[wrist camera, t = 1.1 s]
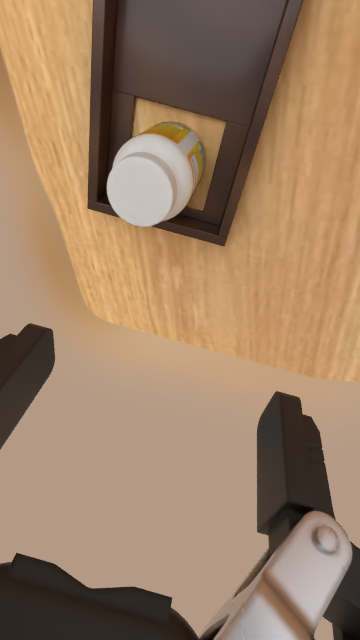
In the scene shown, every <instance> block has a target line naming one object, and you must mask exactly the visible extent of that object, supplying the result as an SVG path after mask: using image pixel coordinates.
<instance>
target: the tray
mask: <svg viewBox="0 0 360 640" xmlns="http://www.w3.org/2000/svg"><path fill="white" fill-rule="evenodd" d="M302 3H303V0H93V21H92V59H91V97H90V135H89V173H88V209H91V210H95V211H98V212H102V213H105V214H109V215H113V216H116V217H119V216H118V215H117V213H116V212H115V211H114V209H113V208H112V206H111V204H110V202H109V199H108V195H107V181H108V177H109V174H110V172H111V170H112V167H113V163H114V159H115V157H116V155H117V153H118V151H119V150H120V148H121V147H122V146H123V145H124V144H125V143H126V142H127V141H129V140H130V139H131V138H132V128H133V118H134V108H135V98H136V97H140V98H144V99H147V100H151V101H155V102H158V103H162V104H166V105H169V106H173V107H177V108H180V109H184V110H188V111H192V112H195V113H199V114H203V115H206V116H210V117H214V118H217V119H221V120H225V121H227V122H226V126H225V130H224V134H223V138H222V142H221V146H220V150H219V153H218V157H217V161H216V165H215V169H214V173H213V177H212V181H211V185H210V188H209V192H208V196H207V200H206V204H205V208H204V212H203V211H200V210H196V209H192V208H189V207H184V209H183V210H182V211H181V212H180V213H178V214H177V215H176V216H174V217H172V218H170V219H168V220H165V221H161V222H159V223H158V224H156V225H153V226H152V227H156V228H160V229H163V230H167V231H170V232H174V233H178V234H181V235H185V236H189V237H192V238H196V239H199V240H203V241H207V242H210V243H214V244H218V245H221V246H225V243H226V240H227V237H228V234H229V231H230V227H231V224H232V221H233V218H234V215H235V212H236V209H237V206H238V202H239V199H240V196H241V193H242V190H243V187H244V184H245V181H246V178H247V174H248V171H249V168H250V165H251V162H252V159H253V156H254V153H255V150H256V146H257V143H258V140H259V137H260V134H261V131H262V128H263V125H264V121H265V118H266V115H267V112H268V109H269V106H270V103H271V100H272V97H273V93H274V90H275V87H276V84H277V81H278V78H279V75H280V72H281V68H282V65H283V62H284V59H285V56H286V53H287V50H288V47H289V44H290V40H291V37H292V34H293V31H294V28H295V25H296V22H297V19H298V16H299V12H300V9H301V6H302ZM120 218H121V217H120Z"/></svg>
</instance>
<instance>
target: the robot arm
mask: <svg viewBox="0 0 360 640" xmlns="http://www.w3.org/2000/svg"><path fill="white" fill-rule="evenodd" d="M54 362H55V353H54V339H53V331H52V329H49V328H45V327H42V326H38V325H34V324H31V323H30V324H28V325H26V326H25V327H24V328H23V330H22V331H21V332H20V333H19V334H18V335H17V336H16V335H13V334H9V335H7V336H5V337H3V338H2V339H0V449H1V448H2V446H3V444H4V443H5V442H6V440H7V439H8V437H9V436H10V434H11V433H12V431H13V430H14V428H15V427H16V425H17V424H18V422H19V421H20V419H21V418H22V416H23V415H24V413H25V412H26V410H27V409H28V407H29V406H30V404H31V403H32V401H33V400H34V398H35V396H36V395H37V394H38V392H39V390H40V389H41V388H42V386H43V384H44V383H45V381H46V380H47V378H48V377H49V375H50V373H51V372H52V369H53V366H54ZM257 532H258V533H262V534H265V535H269V548H268V549H267V550H266V551H265V553H264V554H263V555H262V556H261V558H260V559H259V560H258V562H257V563H256V564H255V566H254V567H253V568H252V570H251V571H250V572H249V573H248V575H247V576H246V577H245V579H244V580H243V582H242V583H241V584H240V585H239V587H238V588H237V589H236V590H235V592H234V593H233V595H232V596H231V597H230V598H229V599H228V601H227V602H226V603H225V604H224V605H223V606H222V607H221V608H220V610H219V611H218V612H217V613H216V614H215V616H214V617H213V618H212V619H211V620H210V622H209V623H208V624H207V626H206V627H205V628H204V630H203V631H202V632H201V633H200V635H199V636H197V635H196V633H195V632H194V630H193V629H192V627H191V626H190V625H189V624H188V622H187V621H186V620H185V619H184V618H183V617H182V616H181V615H180V614H179V613H178V612H177V611H175V610H174V609H172V608H171V602H172V598H171V597H168V596H165V595H161V594H158V593H154V592H151V591H147V590H144V589H140V588H137V587H118V588H117V587H116V588H96V589H92V588H88V587H86V586H85V585H83V584H82V583H81V582H79V581H78V580H76V579H75V578H73V577H72V576H71V575H69V574H68V573H67V572H65V571H64V570H62V569H61V568H60V567H58V566H57V565H55V564H53V563H50V562H46V561H43V560H40V559H36V558H33V557H29V556H26V555H22V554H19V553H16V555H15V557H14V559H13V561H12V562H7V563H2V564H0V640H315V639H314V632H315V630H316V628H317V626H318V624H319V621H320V620H321V618H322V616H323V617H324V618H325V619H327V620H328V621H330V622H331V623H332V626H333V636H334V640H360V549H359V548H358V547H356V546H355V545H354V544H353V543H352V542H351V541H350V540H349V538H348V536H347V534H346V532H345V530H344V529H343V528H342V526H341V525H340V524H339V523H338V522H337V521H336V519H335V516H334V512H333V507H332V502H331V496H330V490H329V484H328V478H327V473H326V467H325V463H324V455H323V450H322V444H321V438H320V432H319V430H318V428H317V426H316V425H315V423H314V421H313V419H312V418H311V417H310V416H306V415H303V414H302V408H301V401H300V398H299V397H296V396H293V395H289V394H285V393H282V392H275V393H274V395H273V397H272V398H271V400H270V402H269V403H268V405H267V407H266V408H265V410H264V412H263V413H262V415H261V417H260V420H259V423H258V428H257Z"/></svg>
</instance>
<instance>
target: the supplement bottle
mask: <svg viewBox="0 0 360 640" xmlns="http://www.w3.org/2000/svg"><path fill="white" fill-rule="evenodd" d="M204 166H205V153H204V148H203V145H202V143H201V141H200V139H199V137H198V136H197V134H196V133H195V132H194V131H193V130H192V129H190V128H189V127H188V126H186V125H184V124H181V123H178V122H162V123H159V124H157V125H155V126H153V127H152V128H150V129H148V130H146V131H144V132H143V133H141V134H139V135H137V136H135V137H133V138H132V139H130V140H129V141H127V142H126V143H125V144H124V145H123V146H122V147H121V148H120V150H119V151H118V153H117V155H116V157H115V159H114V163H113V167H112V170H111V172H110V174H109V177H108V181H107V195H108V199H109V202H110V204H111V206H112V208H113V209H114V211H115V212H116V213H117V215H118V216H119V217H121V218H122V219H123V220H124V221H126V222H128V223H129V224H132V225H135V226H139V227H149V226H153V225H156V224H158V223H159V222H161V221H165V220H168V219H170V218H172V217H174V216H176V215H177V214H178V213H180V212H181V211H182V210H183V209H184V207H185V206H186V204H187V203H188V201H189V199H190V197H191V196H192V194H193V192H194V190H195V188H196V186H197V184H198V182H199V180H200V178H201V176H202V174H203V171H204Z"/></svg>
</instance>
